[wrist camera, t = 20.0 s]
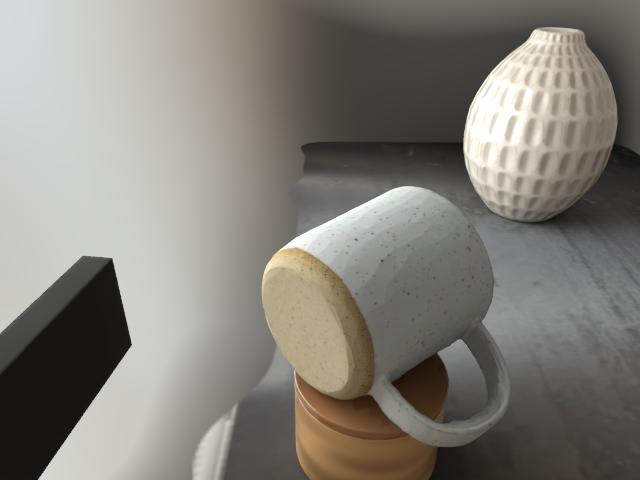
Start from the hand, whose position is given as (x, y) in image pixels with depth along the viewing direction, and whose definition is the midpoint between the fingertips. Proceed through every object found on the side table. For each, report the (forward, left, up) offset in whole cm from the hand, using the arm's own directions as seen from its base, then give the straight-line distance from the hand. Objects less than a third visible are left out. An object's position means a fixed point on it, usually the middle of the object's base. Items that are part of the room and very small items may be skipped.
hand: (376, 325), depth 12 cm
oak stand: (+8, -3, -14) cm, 17 cm away
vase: (+31, -27, -15) cm, 43 cm away
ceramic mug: (+8, -4, -10) cm, 13 cm away
